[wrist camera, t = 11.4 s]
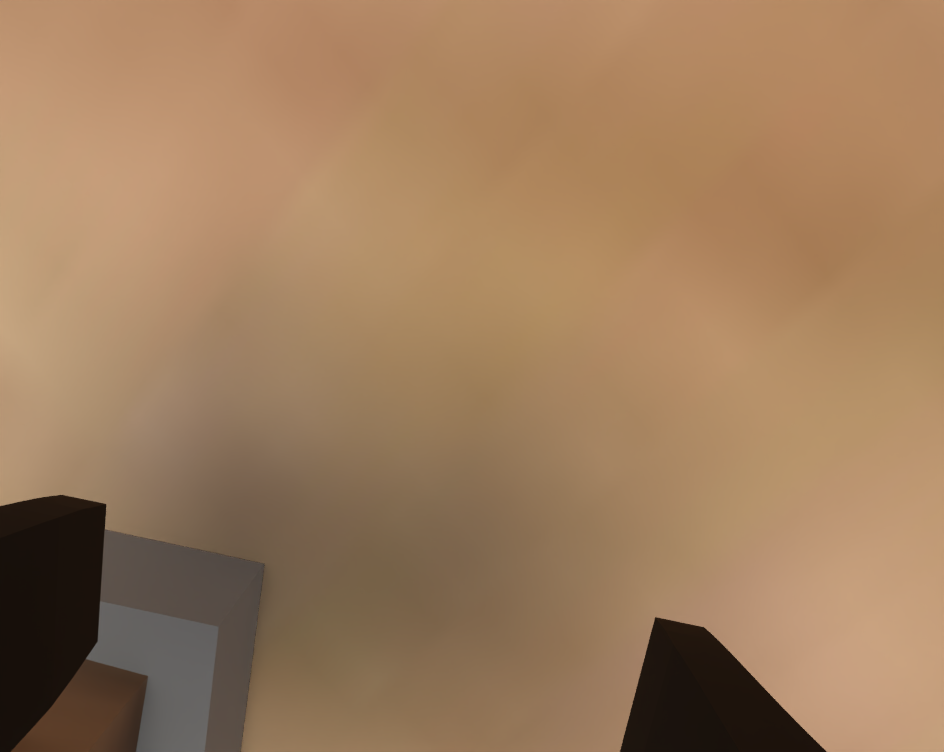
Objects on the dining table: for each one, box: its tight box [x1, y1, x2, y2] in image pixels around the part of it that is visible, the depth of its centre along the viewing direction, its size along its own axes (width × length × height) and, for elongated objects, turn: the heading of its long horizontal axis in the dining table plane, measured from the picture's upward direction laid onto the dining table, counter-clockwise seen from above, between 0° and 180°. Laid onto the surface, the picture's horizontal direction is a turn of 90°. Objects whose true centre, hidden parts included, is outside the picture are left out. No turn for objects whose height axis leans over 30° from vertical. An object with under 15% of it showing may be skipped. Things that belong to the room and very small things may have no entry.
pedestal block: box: [86, 530, 264, 752], centre depth 21 cm, size 7×7×4 cm
